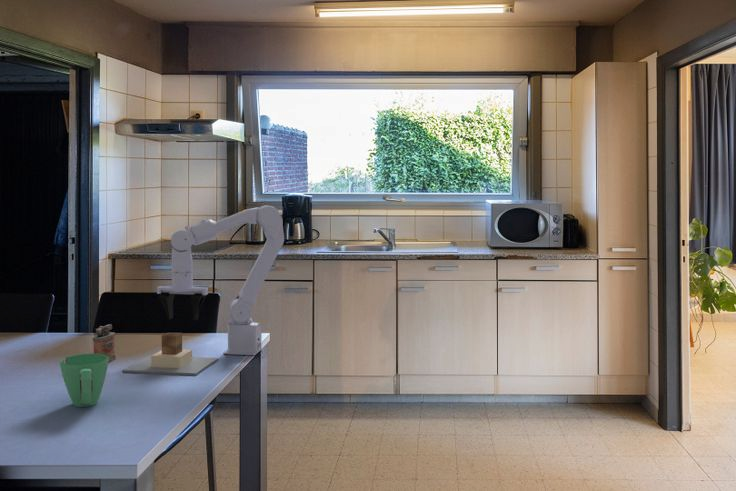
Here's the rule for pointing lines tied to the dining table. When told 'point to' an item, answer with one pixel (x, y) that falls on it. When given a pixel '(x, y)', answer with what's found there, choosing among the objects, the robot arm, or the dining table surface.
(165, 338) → the walnut block
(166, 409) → the dining table surface
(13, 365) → the dining table surface
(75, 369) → the mug
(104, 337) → the lighter
